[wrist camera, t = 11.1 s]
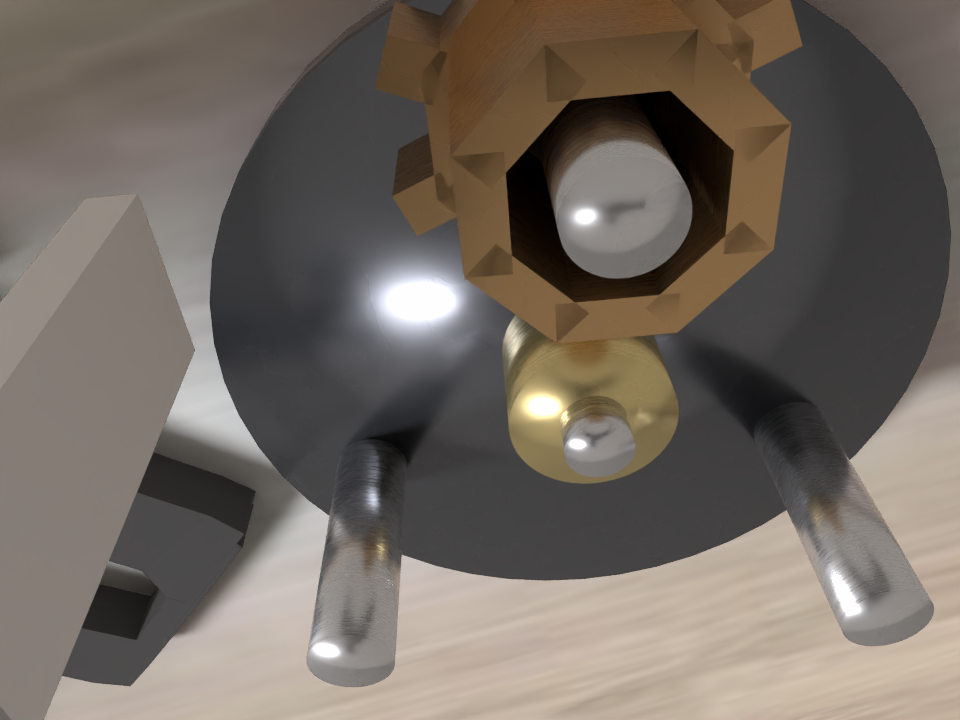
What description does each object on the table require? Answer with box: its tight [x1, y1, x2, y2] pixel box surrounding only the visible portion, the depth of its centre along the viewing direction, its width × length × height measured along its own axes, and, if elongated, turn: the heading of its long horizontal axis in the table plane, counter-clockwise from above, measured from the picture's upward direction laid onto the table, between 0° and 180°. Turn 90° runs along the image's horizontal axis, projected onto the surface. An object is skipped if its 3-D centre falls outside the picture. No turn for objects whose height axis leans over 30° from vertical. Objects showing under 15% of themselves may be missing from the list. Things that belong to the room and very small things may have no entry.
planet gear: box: [374, 0, 803, 343], centre depth 15 cm, size 8×8×6 cm
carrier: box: [210, 0, 951, 687], centre depth 19 cm, size 19×19×8 cm
